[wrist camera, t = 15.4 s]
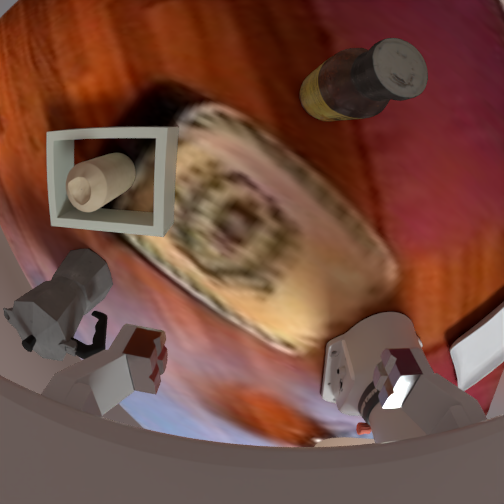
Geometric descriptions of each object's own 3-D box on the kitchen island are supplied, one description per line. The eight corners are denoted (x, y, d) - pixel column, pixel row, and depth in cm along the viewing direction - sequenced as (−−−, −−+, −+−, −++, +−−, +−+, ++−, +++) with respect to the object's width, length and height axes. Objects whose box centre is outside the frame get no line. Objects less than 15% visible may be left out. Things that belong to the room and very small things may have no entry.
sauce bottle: (319, 131, 33) (389, 143, 15) (286, 91, 32) (324, 54, 13) (359, 102, 32) (456, 92, 14) (328, 61, 30) (401, 10, 12)
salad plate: (517, 336, 49) (524, 344, 46) (454, 386, 55) (460, 395, 51) (516, 278, 42) (525, 286, 39) (441, 339, 48) (449, 350, 44)
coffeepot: (55, 285, 43) (-4, 352, 26) (55, 235, 39) (-19, 295, 23) (135, 315, 45) (92, 401, 28) (142, 264, 41) (87, 348, 25)
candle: (92, 176, 36) (51, 195, 26) (114, 143, 34) (73, 153, 25) (121, 201, 37) (85, 226, 28) (144, 169, 35) (110, 187, 26)
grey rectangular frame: (173, 222, 38) (163, 236, 34) (69, 214, 38) (51, 225, 33) (179, 126, 33) (167, 127, 29) (67, 129, 33) (46, 131, 28)
